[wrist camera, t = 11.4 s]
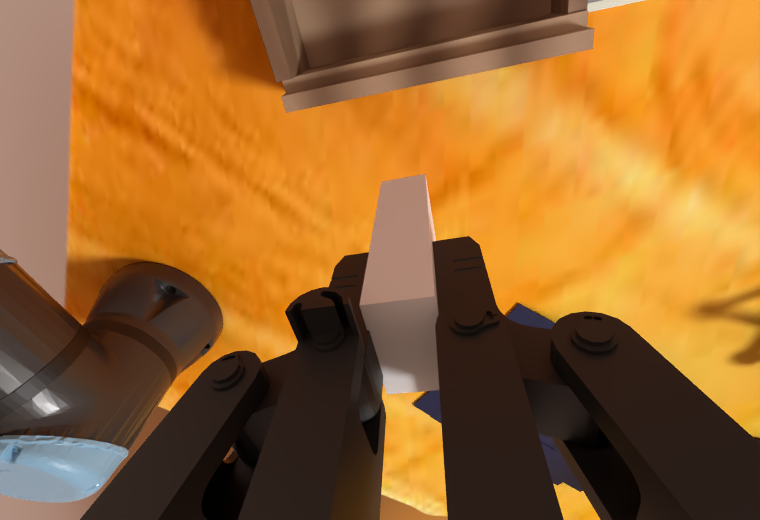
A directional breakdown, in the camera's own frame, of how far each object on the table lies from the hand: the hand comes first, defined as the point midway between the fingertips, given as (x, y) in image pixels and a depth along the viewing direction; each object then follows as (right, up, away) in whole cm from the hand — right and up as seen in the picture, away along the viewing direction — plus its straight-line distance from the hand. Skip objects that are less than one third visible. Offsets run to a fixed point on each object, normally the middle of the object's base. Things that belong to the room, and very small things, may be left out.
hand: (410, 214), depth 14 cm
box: (+2, +19, +17) cm, 26 cm away
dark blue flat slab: (+23, -22, +42) cm, 52 cm away
